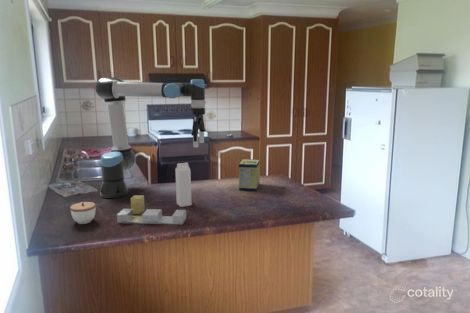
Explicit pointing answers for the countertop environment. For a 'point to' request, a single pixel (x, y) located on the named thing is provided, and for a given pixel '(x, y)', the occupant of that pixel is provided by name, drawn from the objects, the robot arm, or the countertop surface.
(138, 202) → the nut block
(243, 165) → the protein box
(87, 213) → the lidded jar
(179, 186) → the milk
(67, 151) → the countertop surface
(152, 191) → the countertop surface
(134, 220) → the rail
